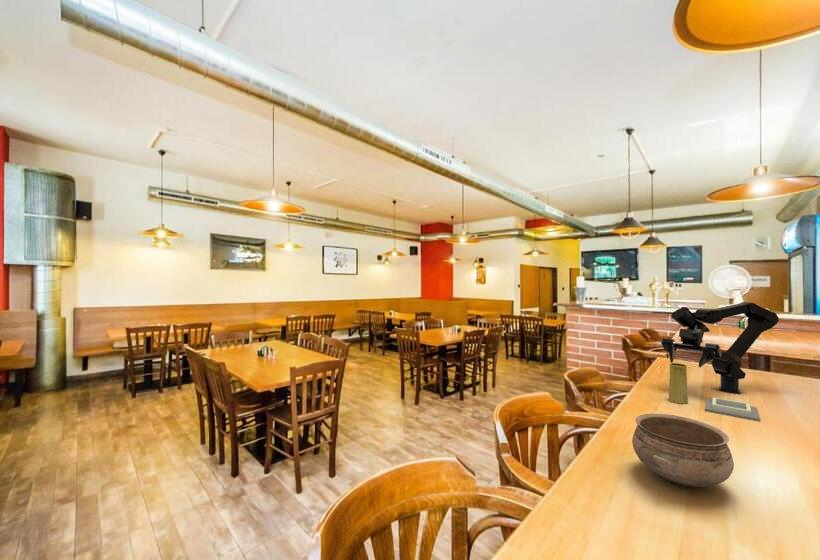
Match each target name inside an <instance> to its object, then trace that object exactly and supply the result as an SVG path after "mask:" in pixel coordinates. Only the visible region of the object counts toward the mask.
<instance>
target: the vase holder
mask: <svg viewBox="0 0 820 560" xmlns="http://www.w3.org/2000/svg"><path fill="white" fill-rule="evenodd" d="M704 412H708V413H714V414H719V415H723V416H724V415H725V416H729V417H734V418H740V419H745V420H751V421H756V422H761V418H760V414H759V410H758V407H757V406H751V405H750V403H748V402H743V401H737V400H732V399H725V398H719V397H713V396H712V399H710V398H705V404H704Z"/></svg>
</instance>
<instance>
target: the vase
mask: <svg viewBox="0 0 820 560" xmlns="http://www.w3.org/2000/svg"><path fill="white" fill-rule="evenodd" d="M687 367H688V366H687V364H685V363H684V364H683V363H679V362H678V363H677V362H672V363H671V362H670V363H669V380H668V381H669V382H668V399H667V400H668V401H669V402H671V403H673V404H678V405H687V404H689V395H688V376H687V375H688V373H687V371H688V370H687Z"/></svg>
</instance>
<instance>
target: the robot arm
mask: <svg viewBox="0 0 820 560" xmlns="http://www.w3.org/2000/svg"><path fill="white" fill-rule="evenodd" d="M670 315H671V316H670V317H671V318H672V320H674V321H675V322H676V323H677V324H678V325H680V326H681V327H683V328H680V329H679V333H678V337H679V338H680V339H679V340H680V342H676V341H675V339H673V338H665V337H664V338H662V339H661V342H660V343H661V345H662V347H663V350H664V351H665V352H667V353H668V354H669V361H670V363H674V360H675V357H676V355H677V352H676V351H677V349H683V350H688V351H695V352H702V355H701V357H700V359H699V362H698V367H699V368H702V367H703V366H704V365H706V364H707V363H708V362H710V361H711V366H712V369H713V370H714V373H715V374H718V375H719V378H720V385H719V386H718V390H719V391H720V392H728V393H734V394H738V395H740V394H741V389H740V388H739V387H740V385H739V383H740V380H743V379H746V376H747V375H746V374H747V373H746V372H745V371H744V370H743V369H741V367H742V358H743V357H744V355H745V354H746V353H747V352H748V350H749V349H750V348H751V347H752V345H753V344H754V343H755V342H756V340H757V339H758V338H759V337H760V336H761V335H762V334H763V333H764V332H766V331H768V330H770V329H772V328H773V327H775V326H776V325H777V324H778V322H779V316H778V314H777V313H776V312H775V311H771V310H770V309H767V308H764V307H762V306H760V305H759V304H757V303H755V302H748V301H747V302H746V301H742V302H740V303H735V304H730V305H725V306H722V307H718V308H699V309H696V310H695V311H694V312H693V311H691V310H690V309H689V308H688V307H687V306H681V308H678V309H676V310H674V311H673V312H672V313H671V314H670ZM738 315H744V316H745V317H746V318H747V320H746V321H747V325H746V328H745V329H743V331H742V332H741V333H740V335H739V336H738V337H737V338H736V340H735V341H734V342H733V343H732V344H731V346H730V347H729V348H728V349H727V351H724V352H722V349H721V347H720V345H719V344H716V343H710V342H708V343H707V342H706V343H705V346H704V345H701V344H703V342H704V340H703V338H704V335H705V333H710V332H711V330H710V329H709V328H708V326H707V325H706V324H710V325H714V324H717V323H720V322H721V321H722V320H723V319H726V318H730V317H734V316H738Z"/></svg>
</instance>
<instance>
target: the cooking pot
mask: <svg viewBox="0 0 820 560" xmlns="http://www.w3.org/2000/svg"><path fill="white" fill-rule="evenodd" d="M635 423H636V427H635V429H634V432H633V435H632V437H631V438H632V439H631V443H632V447H633V451H634V453H635V454H636V456H637V458H638V459H639V460H640V462H641V463H642V464H643V465H645V466H646V467H647V468H648V470H649V469H650V471H652V472H654V473H655V474H657V475H658V476H659V477H662V478H663V479H665V480H666V481H667V482H669V483H671V484H673V485H676V486H679V487H683V486H684V487H683V488H690V487H691V488H699V487H700V488H703V487H713V486H717V485H719V484H722V483H724V482H725V481H727V480H728V479H729V478H730V476H732V473H733V471H734V469H735V468H734V467H735V462H734V457H733V456H732V452H731V449H730V448H729V445H728V443H729V441H730V437H729V436H728V435H727V433H726V432H724V431H723V430H721V429H719V428H718V427H716V426H713V425H711V424H709V423H706V422H704V421H699V420H696V419H693V418H689V417H685V416H679V415H674V414H666V413H646V414H645V413H644V414H640V415H638V416H637V417H636V418H635Z"/></svg>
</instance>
